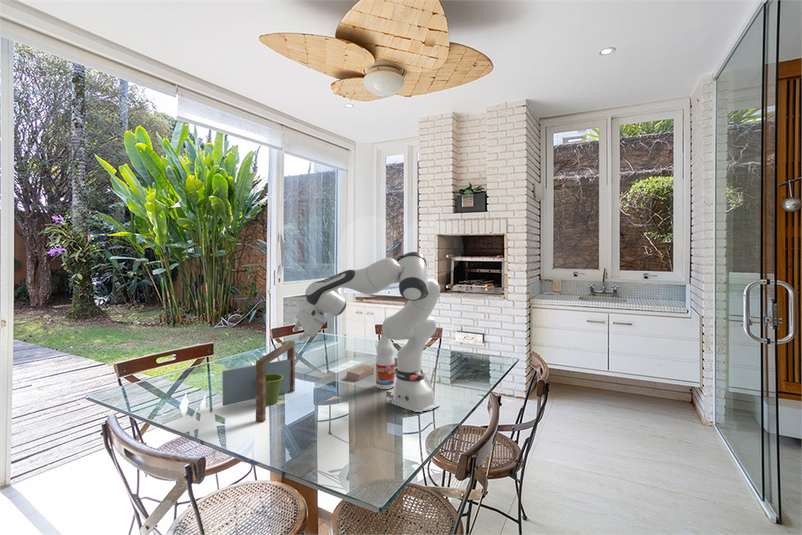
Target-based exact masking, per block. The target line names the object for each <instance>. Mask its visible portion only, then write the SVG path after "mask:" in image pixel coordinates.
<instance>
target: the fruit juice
mask: <svg viewBox="0 0 802 535" xmlns="http://www.w3.org/2000/svg"><path fill="white" fill-rule="evenodd" d="M392 341H393V340H392V339H387V338H386V337H385V336H384V334H383V331H382V330H381V331H380V339H379V342H378V344H377V345H376V350H375V351H376V358H375V388H376V387H377V388H376V389H378V388H380V389H379V390H381V389H389V388H392V387H395V376H396V371H395V370H396V368H395V363H396V362H395V361H396V360H395V356H394V353H395V346H394V343H393V342H392ZM392 389H393V388H392ZM389 390H390V389H389Z"/></svg>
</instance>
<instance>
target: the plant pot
mask: <svg viewBox="0 0 802 535" xmlns="http://www.w3.org/2000/svg"><path fill="white" fill-rule="evenodd" d="M282 379H283V376H282V375H280V374H266V406H271V405H272V406H273V405H275V404H276V403H278V398H279V395H280V393H279V389H280V384H281V381H282ZM255 380H256V378H255Z"/></svg>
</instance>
